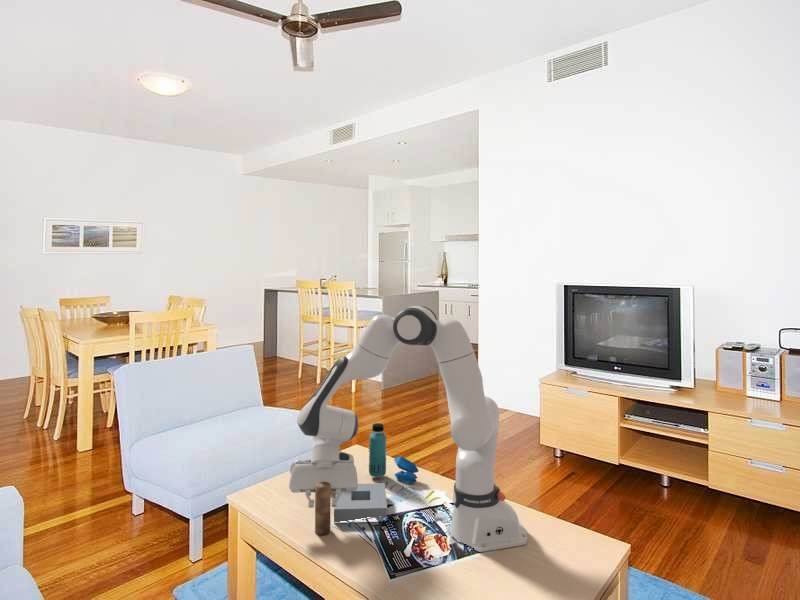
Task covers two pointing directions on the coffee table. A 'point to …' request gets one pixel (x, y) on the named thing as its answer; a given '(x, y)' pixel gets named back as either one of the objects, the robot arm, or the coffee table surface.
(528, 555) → the coffee table surface
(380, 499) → the grey square socket block
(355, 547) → the coffee table surface
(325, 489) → the walnut dowel
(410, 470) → the open blue clamshell
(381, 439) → the beverage bottle
